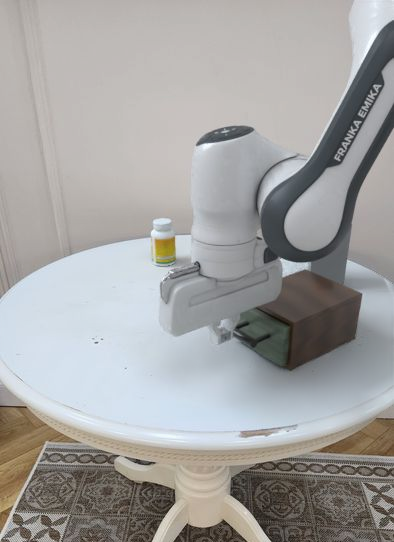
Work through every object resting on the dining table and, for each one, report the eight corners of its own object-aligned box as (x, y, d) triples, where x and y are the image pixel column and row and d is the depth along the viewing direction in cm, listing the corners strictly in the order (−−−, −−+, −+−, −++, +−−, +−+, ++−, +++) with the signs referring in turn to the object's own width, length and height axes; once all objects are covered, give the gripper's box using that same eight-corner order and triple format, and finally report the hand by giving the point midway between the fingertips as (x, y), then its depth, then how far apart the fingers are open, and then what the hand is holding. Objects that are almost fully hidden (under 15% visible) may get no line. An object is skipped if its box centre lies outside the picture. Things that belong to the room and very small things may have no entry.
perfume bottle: (307, 275, 113) (315, 189, 103) (339, 276, 112) (351, 190, 102) (308, 288, 107) (317, 199, 98) (342, 290, 106) (355, 200, 97)
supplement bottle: (147, 262, 120) (144, 220, 115) (166, 256, 123) (164, 215, 118) (161, 269, 117) (159, 226, 112) (181, 262, 120) (179, 221, 115)
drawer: (261, 377, 80) (263, 338, 76) (214, 345, 88) (214, 309, 84) (344, 337, 89) (349, 301, 86) (295, 312, 97) (298, 278, 93)
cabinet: (289, 371, 83) (294, 322, 78) (237, 338, 91) (238, 293, 87) (355, 339, 90) (362, 293, 86) (301, 311, 99) (305, 268, 94)
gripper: (173, 281, 65) (176, 374, 73) (292, 244, 76) (284, 328, 83) (146, 265, 70) (152, 354, 77) (262, 232, 80) (257, 313, 87)
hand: (221, 340), depth 80 cm, fingers closed
